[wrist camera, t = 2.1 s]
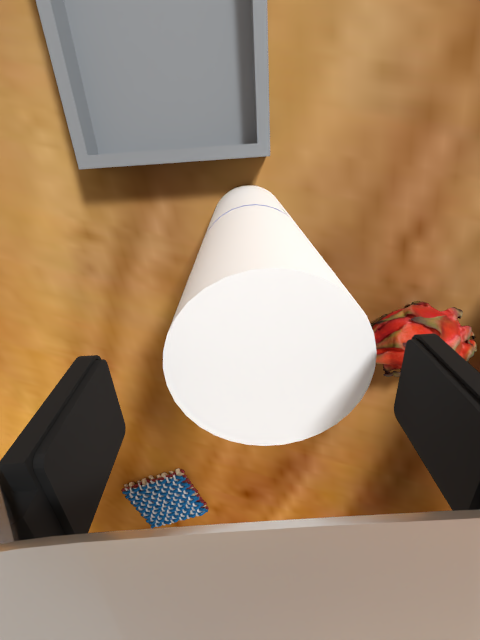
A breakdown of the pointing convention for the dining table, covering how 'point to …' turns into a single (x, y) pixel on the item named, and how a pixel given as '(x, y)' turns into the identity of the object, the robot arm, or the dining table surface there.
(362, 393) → the cylindrical container
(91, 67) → the tray
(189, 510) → the woven mat
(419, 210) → the dining table surface
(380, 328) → the dragon fruit
